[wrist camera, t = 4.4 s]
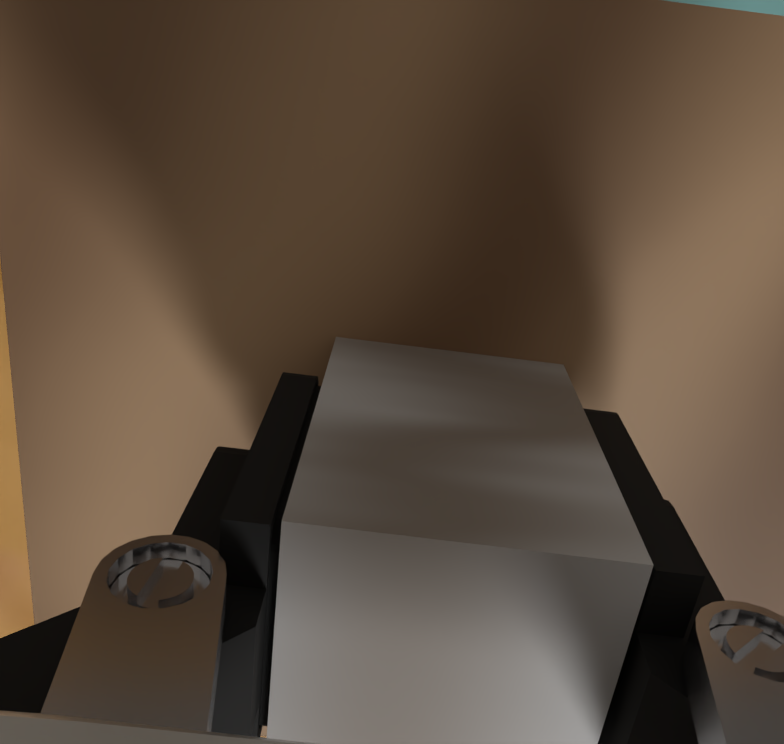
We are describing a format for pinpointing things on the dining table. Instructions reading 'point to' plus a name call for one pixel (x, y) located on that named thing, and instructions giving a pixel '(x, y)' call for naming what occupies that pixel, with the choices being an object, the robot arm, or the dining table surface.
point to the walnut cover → (404, 323)
